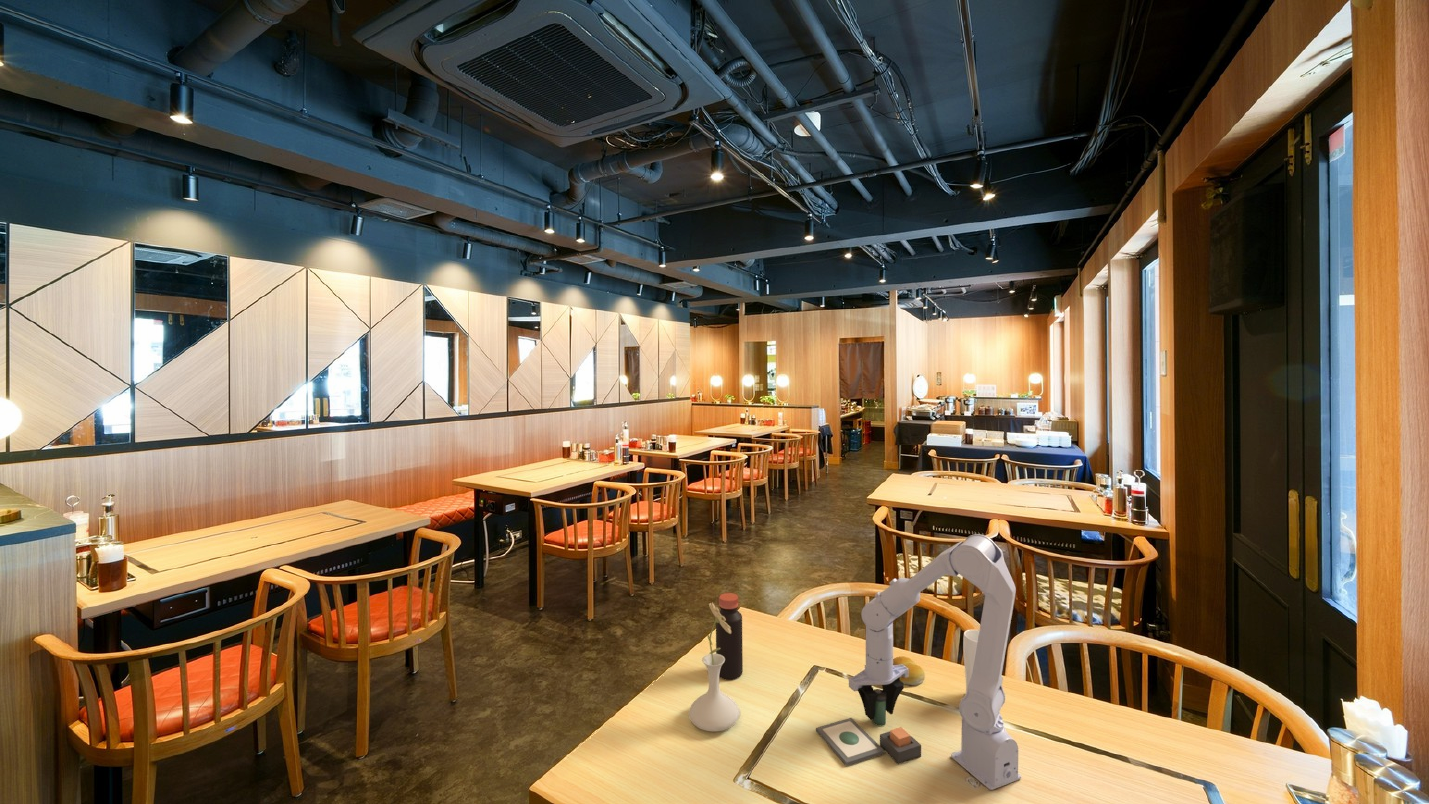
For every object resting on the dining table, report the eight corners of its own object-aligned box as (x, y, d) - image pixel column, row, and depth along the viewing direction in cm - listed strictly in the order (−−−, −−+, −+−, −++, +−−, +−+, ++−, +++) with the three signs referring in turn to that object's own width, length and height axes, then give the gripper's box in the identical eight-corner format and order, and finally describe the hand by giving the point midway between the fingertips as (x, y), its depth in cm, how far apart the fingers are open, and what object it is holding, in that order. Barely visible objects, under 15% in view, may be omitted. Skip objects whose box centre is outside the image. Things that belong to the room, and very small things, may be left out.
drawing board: (884, 754, 105) (884, 749, 105) (846, 766, 102) (846, 762, 102) (851, 721, 115) (851, 716, 115) (815, 731, 112) (815, 727, 112)
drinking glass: (987, 690, 126) (988, 629, 125) (1000, 708, 119) (1001, 643, 118) (958, 689, 126) (958, 628, 126) (969, 706, 120) (969, 642, 119)
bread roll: (903, 689, 127) (903, 673, 127) (882, 670, 136) (882, 654, 135) (933, 684, 129) (933, 668, 129) (910, 665, 138) (910, 650, 138)
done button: (910, 744, 105) (910, 735, 105) (899, 748, 104) (899, 739, 104) (900, 735, 107) (900, 727, 107) (889, 739, 106) (889, 730, 106)
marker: (889, 724, 114) (889, 695, 114) (877, 727, 113) (878, 698, 113) (880, 716, 117) (880, 687, 117) (869, 719, 116) (869, 690, 115)
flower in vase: (741, 737, 110) (740, 621, 109) (687, 738, 110) (685, 622, 109) (738, 699, 123) (737, 595, 122) (690, 700, 123) (688, 596, 122)
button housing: (921, 756, 104) (921, 745, 104) (898, 764, 102) (898, 752, 102) (901, 738, 109) (901, 727, 109) (879, 745, 107) (879, 734, 107)
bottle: (712, 678, 132) (712, 600, 131) (720, 664, 139) (719, 590, 138) (739, 682, 130) (738, 603, 129) (745, 668, 137) (744, 593, 136)
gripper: (893, 638, 121) (893, 696, 121) (840, 651, 115) (840, 711, 116) (915, 653, 114) (915, 714, 115) (860, 667, 109) (860, 731, 109)
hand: (879, 714), depth 115 cm, fingers open, 4 cm apart
